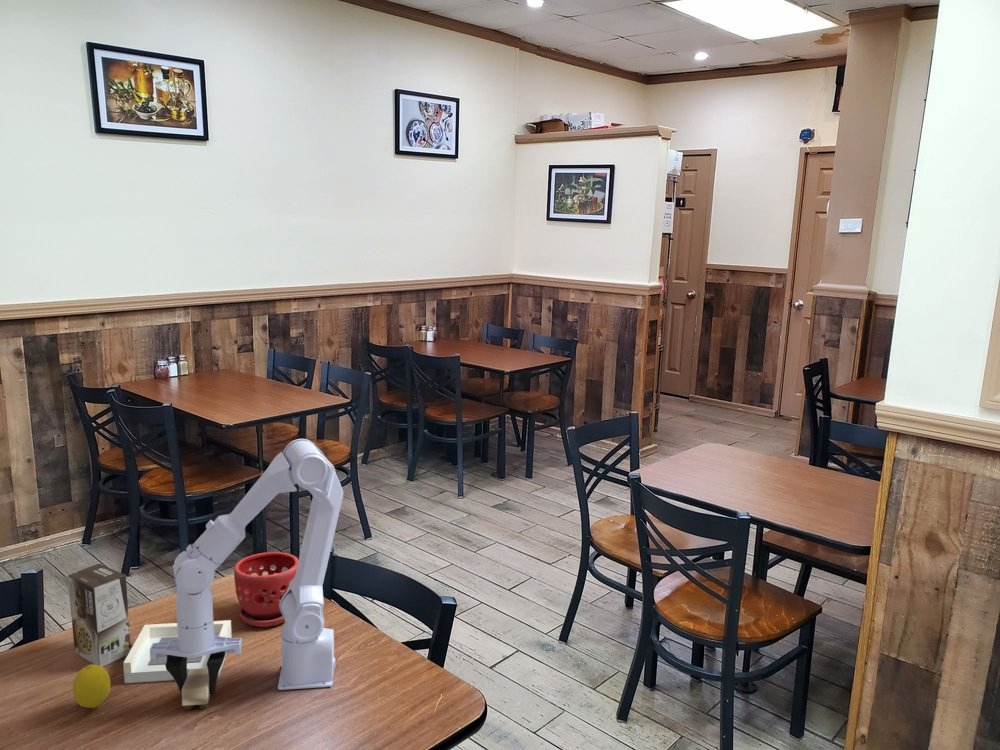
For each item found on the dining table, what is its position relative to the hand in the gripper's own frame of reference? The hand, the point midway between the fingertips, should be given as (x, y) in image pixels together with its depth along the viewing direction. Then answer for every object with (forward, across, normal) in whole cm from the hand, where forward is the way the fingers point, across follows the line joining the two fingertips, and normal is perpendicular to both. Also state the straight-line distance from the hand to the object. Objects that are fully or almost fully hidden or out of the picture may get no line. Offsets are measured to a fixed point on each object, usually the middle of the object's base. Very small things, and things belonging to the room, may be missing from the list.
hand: (198, 691), depth 128 cm
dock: (+2, +6, -13) cm, 14 cm away
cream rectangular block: (+2, 0, 0) cm, 2 cm away
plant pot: (+2, -8, -28) cm, 29 cm away
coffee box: (+2, +21, -17) cm, 27 cm away
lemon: (+2, +17, 0) cm, 17 cm away
